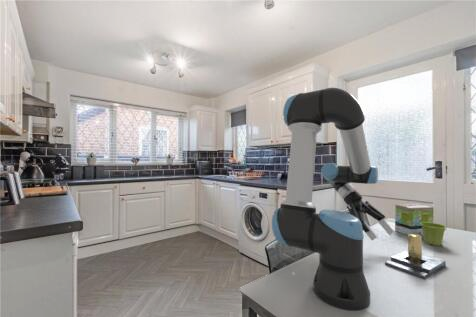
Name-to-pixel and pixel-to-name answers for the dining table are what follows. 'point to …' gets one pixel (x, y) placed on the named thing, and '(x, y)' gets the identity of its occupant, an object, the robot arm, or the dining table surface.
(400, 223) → the tea box
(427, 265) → the grey slotted plate
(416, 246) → the brass pin
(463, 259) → the dining table surface
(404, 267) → the grey square-hole plate
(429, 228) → the plant pot
